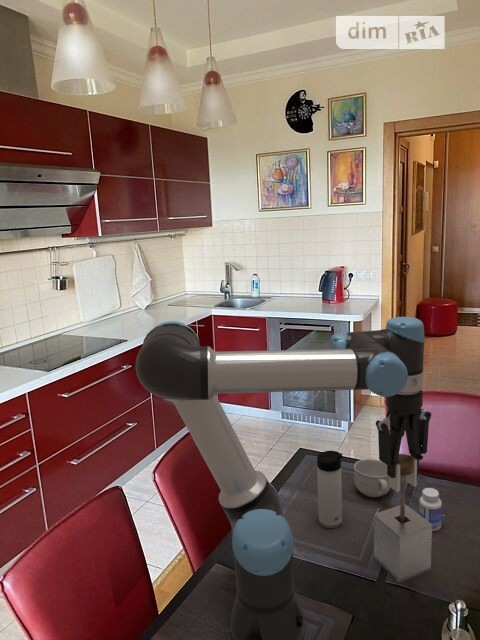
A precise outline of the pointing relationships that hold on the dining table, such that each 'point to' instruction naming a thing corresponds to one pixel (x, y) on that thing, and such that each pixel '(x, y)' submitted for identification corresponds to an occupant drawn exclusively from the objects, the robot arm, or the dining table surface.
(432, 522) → the pill bottle
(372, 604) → the dining table surface
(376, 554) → the grey block with hole
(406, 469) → the plunger
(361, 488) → the teacup
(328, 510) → the travel mug
